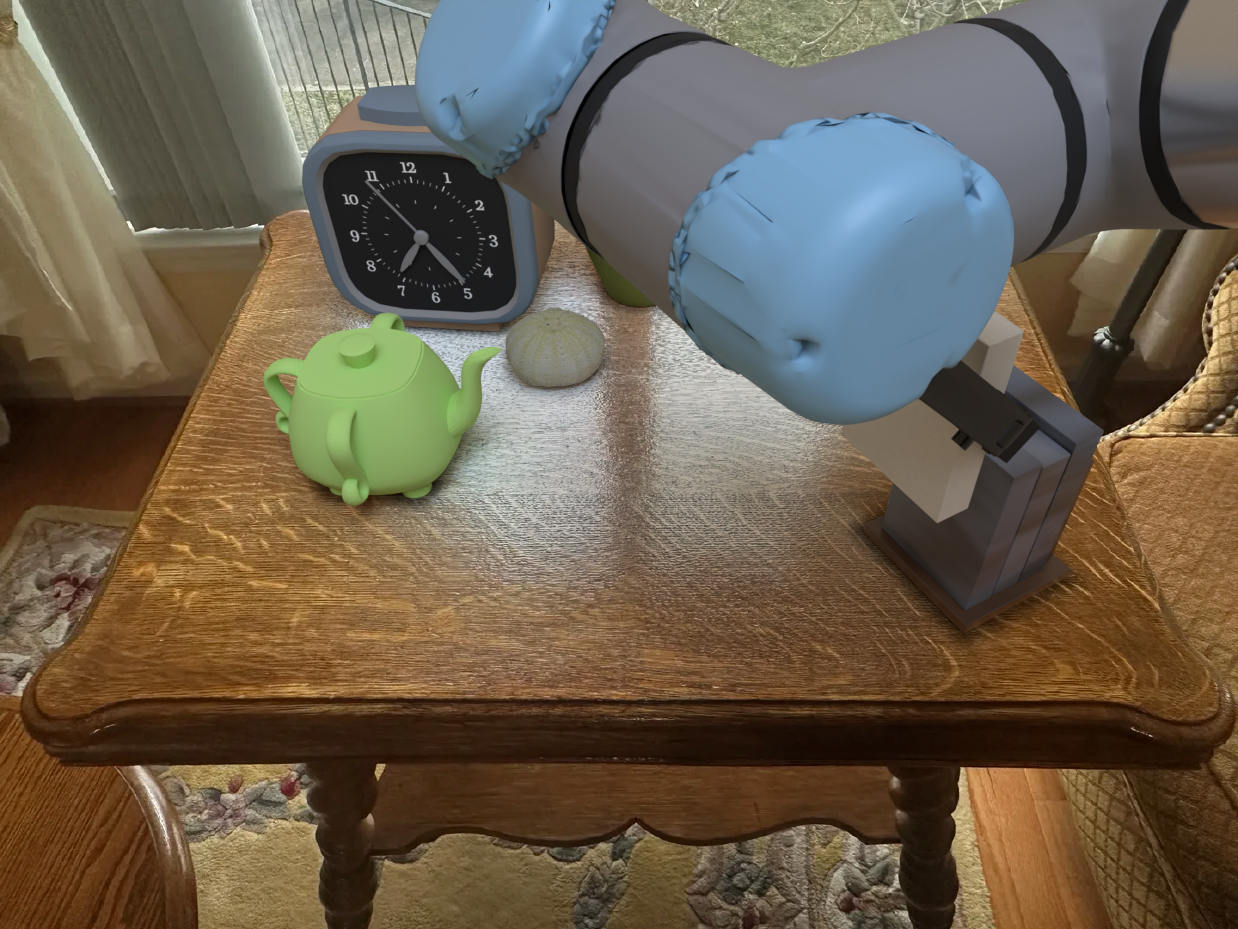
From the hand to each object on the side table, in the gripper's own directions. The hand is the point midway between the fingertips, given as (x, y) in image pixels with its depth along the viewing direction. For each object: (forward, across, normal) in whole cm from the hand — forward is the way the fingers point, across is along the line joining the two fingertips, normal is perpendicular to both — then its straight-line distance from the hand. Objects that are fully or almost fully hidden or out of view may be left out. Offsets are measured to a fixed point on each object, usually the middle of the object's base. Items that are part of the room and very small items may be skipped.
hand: (957, 393), depth 56 cm
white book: (+1, 0, -6) cm, 6 cm away
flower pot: (+15, -44, -11) cm, 48 cm away
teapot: (-6, -32, -33) cm, 46 cm away
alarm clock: (+2, -51, -24) cm, 56 cm away
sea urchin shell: (+6, -37, -21) cm, 43 cm away
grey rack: (+17, 0, -9) cm, 19 cm away
